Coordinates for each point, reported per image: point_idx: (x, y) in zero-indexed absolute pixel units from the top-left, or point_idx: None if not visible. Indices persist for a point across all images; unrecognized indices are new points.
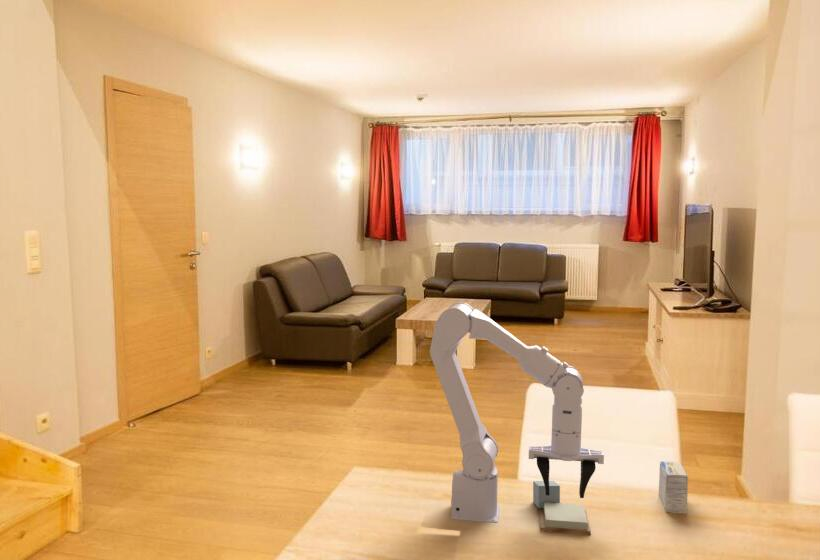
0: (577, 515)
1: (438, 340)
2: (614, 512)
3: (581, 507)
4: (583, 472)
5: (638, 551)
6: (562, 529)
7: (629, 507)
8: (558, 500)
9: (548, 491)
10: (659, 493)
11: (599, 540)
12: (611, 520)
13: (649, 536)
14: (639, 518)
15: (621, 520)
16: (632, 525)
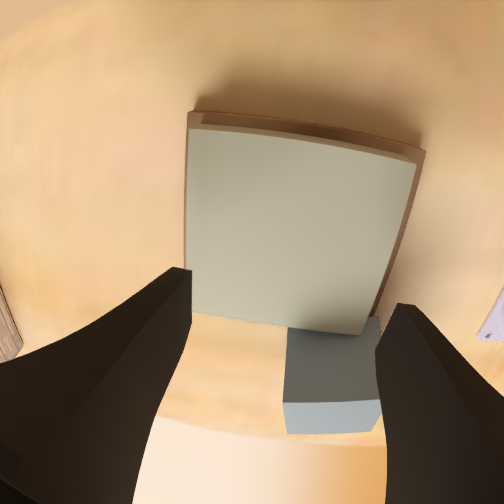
0: (230, 210)
1: None
2: (97, 295)
3: (198, 289)
4: (56, 415)
5: (51, 24)
6: (326, 128)
7: (65, 318)
8: (293, 344)
9: (415, 317)
10: (12, 349)
11: (163, 66)
12: (103, 243)
13: (11, 141)
14: (36, 256)
15: (75, 243)
16: (47, 210)
